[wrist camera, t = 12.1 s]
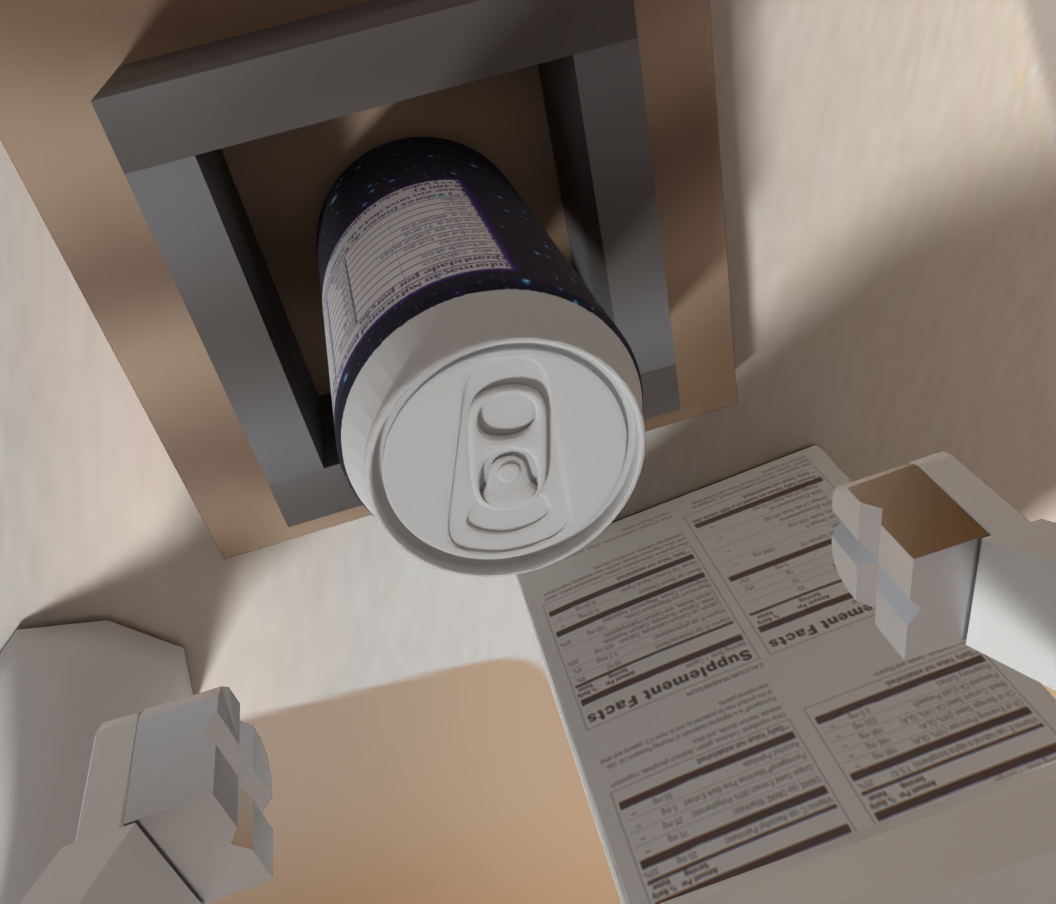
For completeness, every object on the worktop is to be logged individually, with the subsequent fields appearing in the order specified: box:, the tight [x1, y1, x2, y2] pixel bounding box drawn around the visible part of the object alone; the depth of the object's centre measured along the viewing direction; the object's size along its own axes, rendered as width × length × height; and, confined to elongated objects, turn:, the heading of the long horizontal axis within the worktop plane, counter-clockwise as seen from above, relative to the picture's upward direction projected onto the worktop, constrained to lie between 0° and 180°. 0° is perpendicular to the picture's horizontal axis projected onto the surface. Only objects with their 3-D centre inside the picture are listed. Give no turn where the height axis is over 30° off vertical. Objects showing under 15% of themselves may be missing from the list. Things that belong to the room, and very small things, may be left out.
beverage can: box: [316, 137, 646, 577], centre depth 20 cm, size 6×6×12 cm
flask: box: [0, 620, 193, 904], centre depth 29 cm, size 7×7×10 cm
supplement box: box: [515, 446, 1056, 904], centre depth 31 cm, size 13×13×18 cm
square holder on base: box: [0, 0, 737, 559], centre depth 24 cm, size 18×18×6 cm
